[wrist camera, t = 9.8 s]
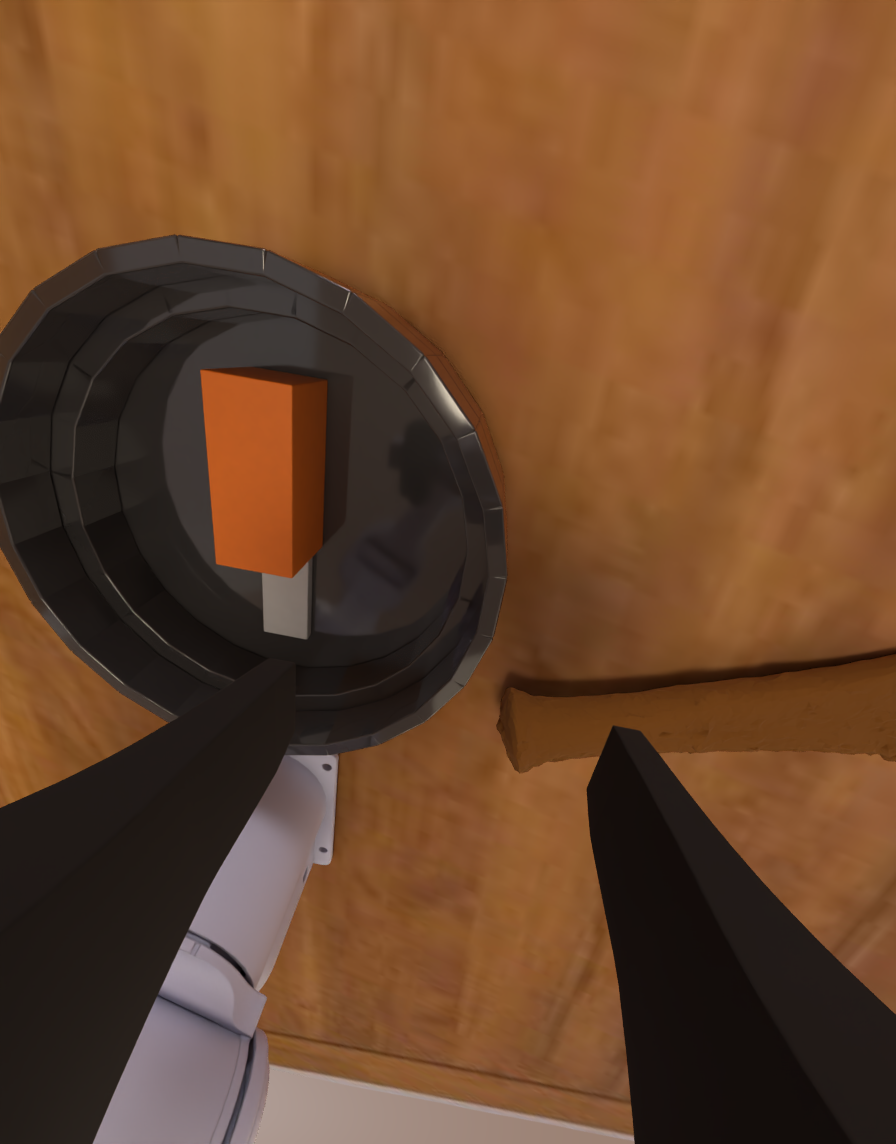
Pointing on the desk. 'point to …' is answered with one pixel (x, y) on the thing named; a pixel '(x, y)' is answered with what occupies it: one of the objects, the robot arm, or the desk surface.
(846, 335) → the desk surface
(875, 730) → the primitive tool
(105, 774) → the robot arm
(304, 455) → the chisel
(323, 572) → the bowl
